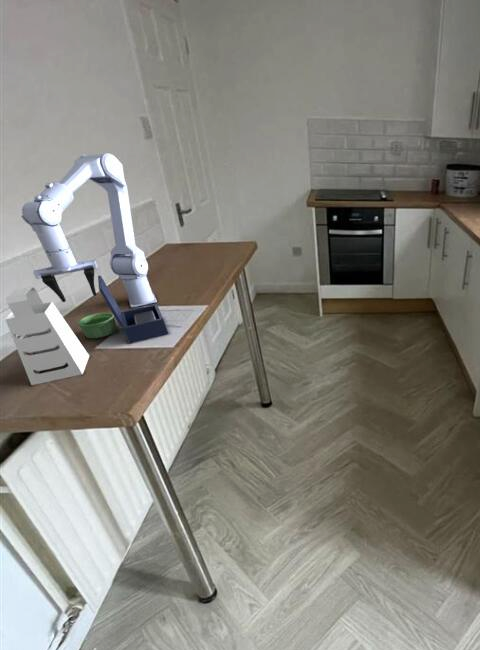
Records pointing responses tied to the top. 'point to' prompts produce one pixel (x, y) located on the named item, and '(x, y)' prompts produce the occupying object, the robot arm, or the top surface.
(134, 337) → the dark blue box
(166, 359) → the top surface
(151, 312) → the phone
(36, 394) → the top surface
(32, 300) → the grater
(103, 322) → the ramekin
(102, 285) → the cover
